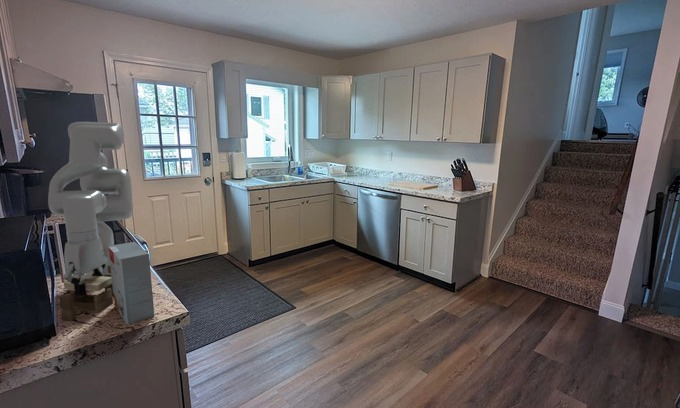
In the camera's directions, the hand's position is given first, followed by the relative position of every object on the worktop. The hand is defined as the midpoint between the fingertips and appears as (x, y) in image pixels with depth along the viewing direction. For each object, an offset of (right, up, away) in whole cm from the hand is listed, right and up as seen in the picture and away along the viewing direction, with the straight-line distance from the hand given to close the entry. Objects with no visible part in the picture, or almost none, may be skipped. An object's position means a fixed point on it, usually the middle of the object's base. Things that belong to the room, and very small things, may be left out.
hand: (89, 289), depth 105 cm
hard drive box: (+15, -6, -2) cm, 16 cm away
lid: (0, +1, 0) cm, 1 cm away
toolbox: (0, -5, 0) cm, 5 cm away
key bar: (+2, +5, +17) cm, 17 cm away
